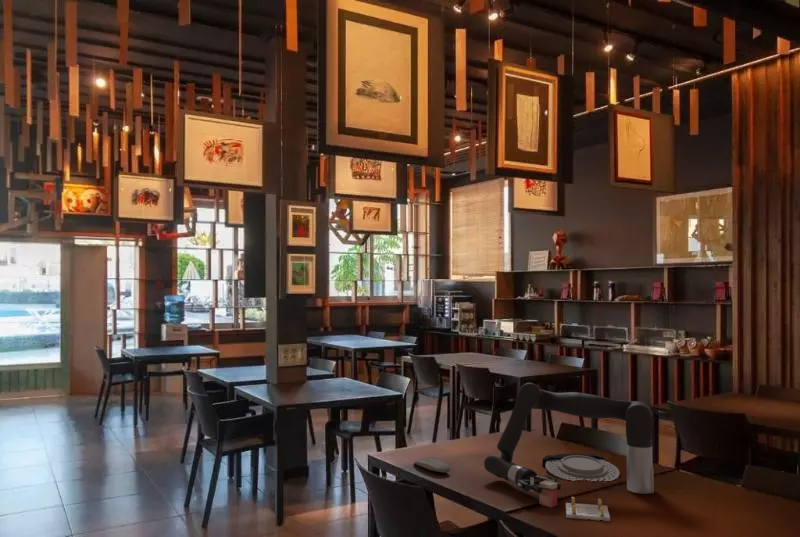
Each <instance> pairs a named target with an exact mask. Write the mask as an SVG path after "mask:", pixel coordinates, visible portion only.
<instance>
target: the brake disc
mask: <svg viewBox="0 0 800 537" xmlns="http://www.w3.org/2000/svg"><path fill="white" fill-rule="evenodd" d="M541 464H542V465H543V466H542V465H541V466H542V467H545V469H546V471H547V472H548V473H550V474H551V475H553V476H554V477H556V478H558V477H559V479H561V478H562V479H561V480H564V479H566V480H565V481H567V480H571V481H570V482H573V481H575V480H583V479H585V478H586V479H585V480H588V481H589V480H590V481H595V482H596V481H597V480H598V479H599V481H602V480H604V479H605V480H604V481H610V482H613V480H614V481H615V479H616V480H617V479H619V477H620V472H621V471H620V470H619V469H618V467H617V466H615V465H614V464H612V463H610V462H608V461H606V460H605V457H604V456H603V455H598V454H595V453H589V454H588V453H587V454H586V453H576V452H575V453H557V454H555V455H554V454H552V455H551V454H550V455H545V456H544V457H542V462H541ZM576 478H577V479H576Z"/></svg>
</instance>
